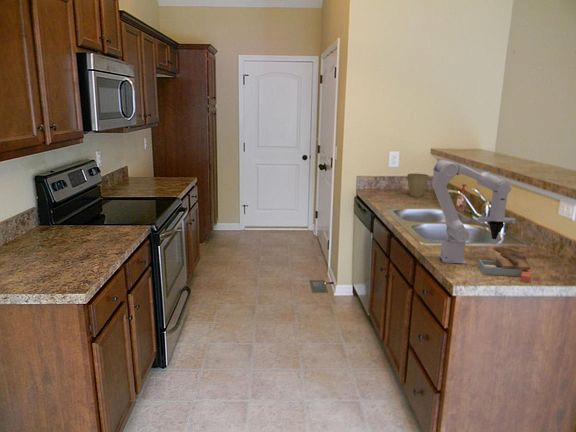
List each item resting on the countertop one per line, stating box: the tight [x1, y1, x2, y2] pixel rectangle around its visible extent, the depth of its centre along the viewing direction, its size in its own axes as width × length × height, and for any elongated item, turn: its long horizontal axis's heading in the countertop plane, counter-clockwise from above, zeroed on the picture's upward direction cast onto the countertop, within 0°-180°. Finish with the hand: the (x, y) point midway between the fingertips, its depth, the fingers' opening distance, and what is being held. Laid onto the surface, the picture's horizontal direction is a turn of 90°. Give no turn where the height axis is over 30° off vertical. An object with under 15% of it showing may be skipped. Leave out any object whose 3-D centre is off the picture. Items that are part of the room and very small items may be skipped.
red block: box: [519, 269, 532, 284], centre depth 178 cm, size 3×9×3 cm, turn 150°
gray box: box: [477, 259, 522, 278], centre depth 184 cm, size 14×9×3 cm, turn 83°
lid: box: [495, 256, 531, 270], centre depth 183 cm, size 10×9×2 cm
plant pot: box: [407, 172, 430, 198], centre depth 333 cm, size 15×15×16 cm
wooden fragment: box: [492, 245, 530, 266], centre depth 205 cm, size 26×11×1 cm, turn 177°
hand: (493, 238), depth 195 cm, fingers closed
